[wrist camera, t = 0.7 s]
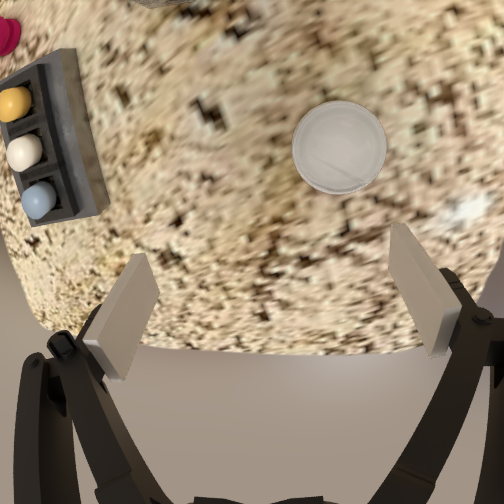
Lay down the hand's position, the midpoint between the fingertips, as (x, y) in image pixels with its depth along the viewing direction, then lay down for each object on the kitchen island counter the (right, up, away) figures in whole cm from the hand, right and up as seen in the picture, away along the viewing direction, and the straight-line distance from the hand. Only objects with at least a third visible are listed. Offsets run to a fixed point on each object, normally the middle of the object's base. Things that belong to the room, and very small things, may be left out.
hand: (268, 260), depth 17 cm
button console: (-30, +17, +22) cm, 41 cm away
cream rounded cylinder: (-30, +16, +20) cm, 40 cm away
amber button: (-31, +22, +17) cm, 42 cm away
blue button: (-29, +10, +24) cm, 39 cm away
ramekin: (+9, +15, +22) cm, 28 cm away
